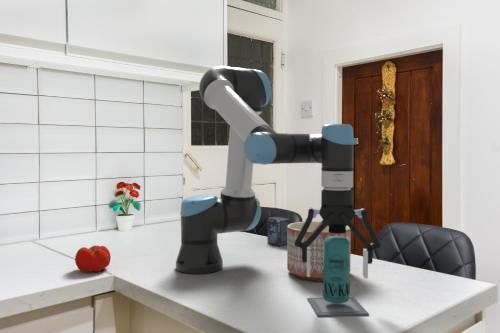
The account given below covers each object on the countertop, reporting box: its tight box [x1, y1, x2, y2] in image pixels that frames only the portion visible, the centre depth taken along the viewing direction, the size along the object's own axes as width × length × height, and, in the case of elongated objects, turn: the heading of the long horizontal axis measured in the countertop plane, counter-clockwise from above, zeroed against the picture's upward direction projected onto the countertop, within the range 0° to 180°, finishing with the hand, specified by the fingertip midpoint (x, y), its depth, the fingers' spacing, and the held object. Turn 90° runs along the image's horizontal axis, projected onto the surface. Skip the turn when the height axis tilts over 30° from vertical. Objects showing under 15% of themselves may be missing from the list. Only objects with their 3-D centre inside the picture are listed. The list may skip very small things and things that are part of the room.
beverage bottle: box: [322, 224, 351, 303], centre depth 108 cm, size 6×7×20 cm
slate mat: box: [306, 296, 370, 318], centre depth 109 cm, size 12×12×1 cm
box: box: [267, 216, 291, 247], centre depth 181 cm, size 8×6×11 cm
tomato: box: [74, 245, 112, 273], centre depth 142 cm, size 11×11×8 cm
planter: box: [286, 220, 352, 282], centre depth 137 cm, size 19×19×15 cm
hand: (336, 276), depth 108 cm, fingers open, 13 cm apart
